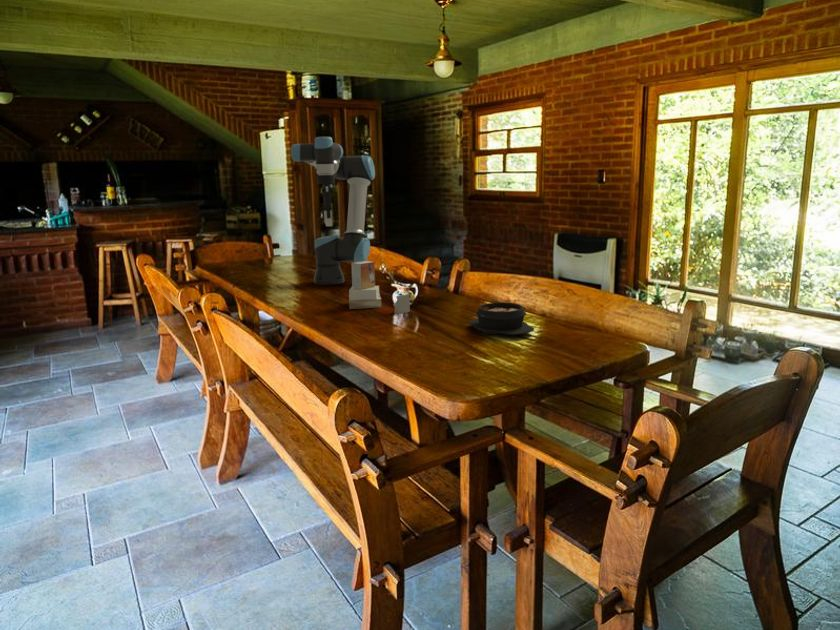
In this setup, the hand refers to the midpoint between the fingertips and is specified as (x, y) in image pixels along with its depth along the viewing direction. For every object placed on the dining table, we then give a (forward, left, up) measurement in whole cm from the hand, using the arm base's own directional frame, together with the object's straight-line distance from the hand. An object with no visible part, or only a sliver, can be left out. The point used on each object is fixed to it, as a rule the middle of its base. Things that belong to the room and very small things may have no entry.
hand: (328, 224), depth 260 cm
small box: (+22, +12, -24) cm, 35 cm away
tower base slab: (+22, +12, -32) cm, 41 cm away
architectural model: (+39, +25, -32) cm, 57 cm away
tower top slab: (+23, +12, -28) cm, 38 cm away
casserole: (+76, +53, -32) cm, 98 cm away
